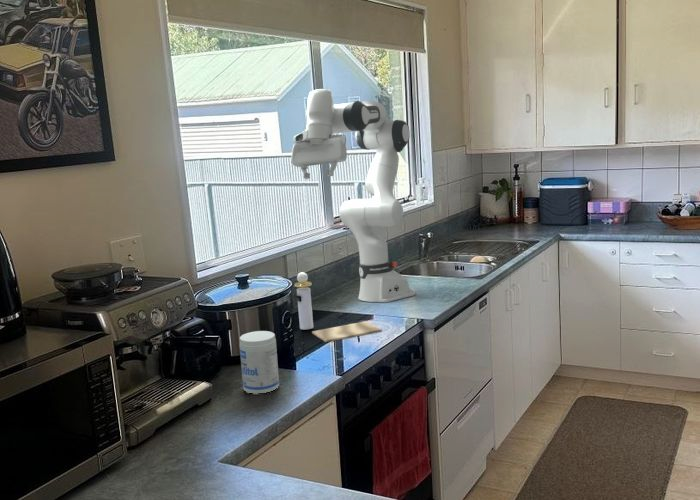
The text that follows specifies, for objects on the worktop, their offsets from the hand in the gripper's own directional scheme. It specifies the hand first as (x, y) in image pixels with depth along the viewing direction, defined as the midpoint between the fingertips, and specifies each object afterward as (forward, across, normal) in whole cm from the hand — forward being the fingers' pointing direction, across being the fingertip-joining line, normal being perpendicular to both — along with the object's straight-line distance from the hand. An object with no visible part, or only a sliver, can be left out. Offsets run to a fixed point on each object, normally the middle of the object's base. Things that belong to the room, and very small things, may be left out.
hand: (318, 177), depth 229 cm
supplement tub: (+66, -10, +39) cm, 77 cm away
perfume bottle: (+51, +8, -8) cm, 52 cm away
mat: (+51, -6, -10) cm, 52 cm away
